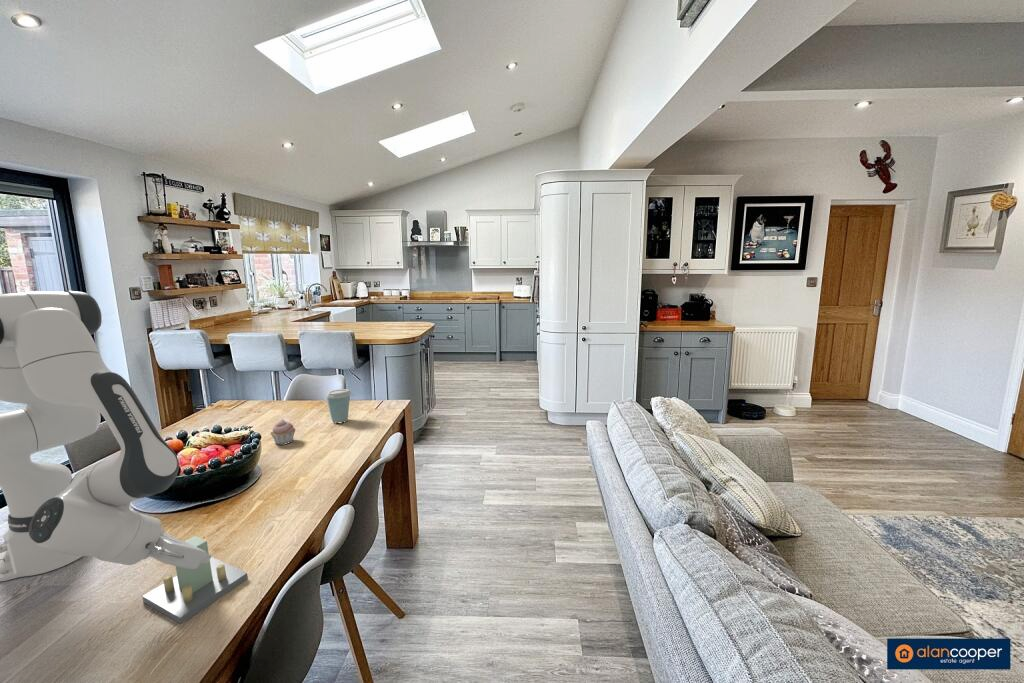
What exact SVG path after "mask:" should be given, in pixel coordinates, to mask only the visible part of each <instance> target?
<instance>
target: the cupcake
mask: <svg viewBox="0 0 1024 683" xmlns="http://www.w3.org/2000/svg"><path fill="white" fill-rule="evenodd" d="M296 431H297V429H296V427H294V425H293V424H292V423H291V422H290V421H286V420H284V418H281V419H280V420H277V422H276V423H275V425H274V426H273V427H272V431H271V432H270V436H271V437H272V438H273V440H274V443H275V445H277V444H285V443H288V442H291V441H292V440H293V441H294V435H295V433H296ZM293 441H292V442H293ZM292 442H291V443H292ZM285 445H286V444H285Z"/></svg>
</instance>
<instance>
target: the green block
mask: <svg viewBox="0 0 1024 683" xmlns="http://www.w3.org/2000/svg"><path fill="white" fill-rule="evenodd" d="M183 541H184V542H186V543H189V544H191V545H193V546H195V547H198V548H200V549H202V550H204V551H206V553H207V554H209V555H210V552H209V546H208V540H206V539H205V538H204V539H203V538H202V537H199V536H197V535H193V536H192V537H189V538H188V539H186V540H183ZM175 572H176V576H177V578H178V584H179V588H181V589H182V588H183V587H185V586H187V585H191V587H192V593H194V592H195V591H197V590H198V589H200V588H202V587H203V586H205V585H206V584H208V583H209V582H211V581H213V578H212V571H211V565H210V560H209V562H208V563H207V564H203V563H201V564H200V566H199V567H198V568H197V569H195V570H191V569H186V568H182V567H177V566H175Z"/></svg>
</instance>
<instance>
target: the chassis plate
mask: <svg viewBox="0 0 1024 683" xmlns="http://www.w3.org/2000/svg"><path fill="white" fill-rule="evenodd" d="M210 565H211V571H212V578H213V581H211V582H209V583H208V584H206V585H205V586H203V587H202V588H200V589H198V590H197V591H195V592H194V593H192V587H191V585H187V586H185V587H183V588H182V589H181V588H179V584H178V578H177V575H176V576H174V577H173V575H171V574H170V575H167V576H165V577H163V579H162V582H163V583H162V584H160V585H159V586H157V587H155V588H153V589H152V590H150V591H148V592H147V593H145V594H143V595H142V596H141V598H142V601H143V603H144V604H146V605H148V606H149V607H151V608H153V609H155V610H157V611H158V612H159V613H162V614H163V615H165V616H167V617H168V618H170V619H172V620H174V621H175V622H176V623H178V624H180V625H182V624H184V623H185V622H186V621H188V620H189V619H191V618H192V617H193V616H195V615H197V614H198V613H199V612H201V611H203V610H204V609H205V608H207V607H208V606H210V605H211V604H213V603H214V602H216V601H217V600H219V599H220V598H221V597H223V596H225V595H226V594H227V593H229V592H230V591H231V590H233V589H235V588H237V587H238V586H239V585H240V584H242V583H244V582H245V581H246V580H248V578H249V577H248V572H246V571H245V570H244V571H243V570H242V569H239V568H237V567H236V566H232V565H231V564H229V563H226V562H225V561H222V560H220V559H217V558H216V557H213V556H211V559H210Z"/></svg>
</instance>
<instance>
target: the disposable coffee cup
mask: <svg viewBox="0 0 1024 683" xmlns="http://www.w3.org/2000/svg"><path fill="white" fill-rule="evenodd" d="M351 395H352V392H351V391H350V389H348V388H340V389H339V388H337V389H334V390H333V389H332V390H330V391H328V392H327V393H326V395H325V397H326V401H327V404H328V409H329V414H330V419H331V422H332V423H333V422H336V423H338V422H344V421H346V420H347V421H348V419H349V410H350V408H349V407H350V399H351ZM347 421H346V422H347ZM336 423H335V424H336ZM344 423H345V422H344Z"/></svg>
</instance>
